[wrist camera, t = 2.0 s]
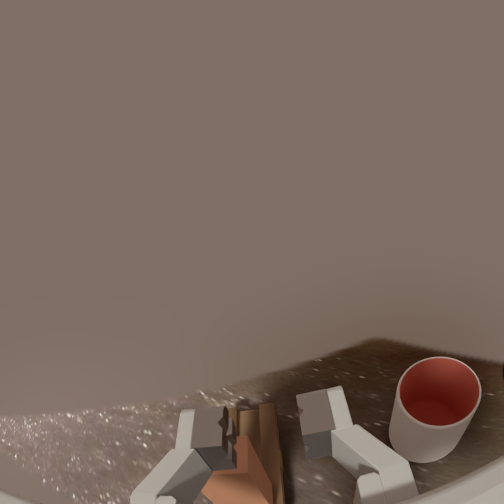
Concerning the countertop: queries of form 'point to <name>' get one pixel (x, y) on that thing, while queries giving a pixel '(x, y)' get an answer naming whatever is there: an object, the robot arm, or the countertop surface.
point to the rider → (240, 479)
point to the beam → (263, 442)
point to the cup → (433, 408)
